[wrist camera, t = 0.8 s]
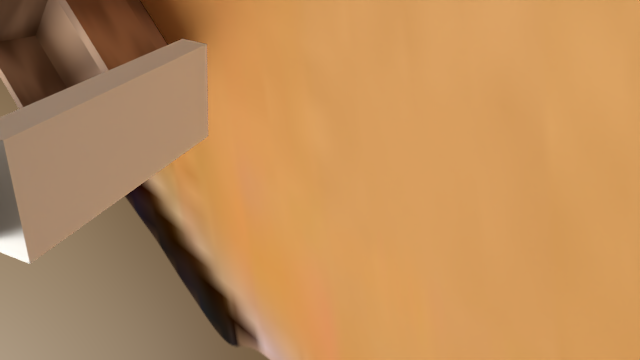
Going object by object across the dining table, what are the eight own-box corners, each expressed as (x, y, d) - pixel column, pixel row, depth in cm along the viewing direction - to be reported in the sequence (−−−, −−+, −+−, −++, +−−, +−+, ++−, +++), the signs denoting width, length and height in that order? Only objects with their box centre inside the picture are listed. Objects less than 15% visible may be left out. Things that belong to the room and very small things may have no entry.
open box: (40, 32, 50) (-21, 41, 46) (83, -90, 40) (10, -90, 37) (119, 164, 48) (63, 184, 45) (184, 71, 39) (119, 87, 35)
